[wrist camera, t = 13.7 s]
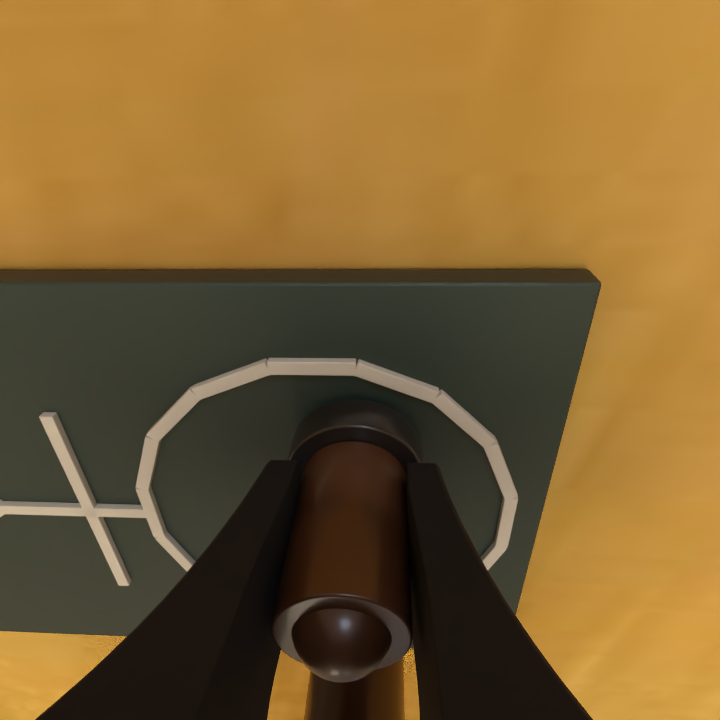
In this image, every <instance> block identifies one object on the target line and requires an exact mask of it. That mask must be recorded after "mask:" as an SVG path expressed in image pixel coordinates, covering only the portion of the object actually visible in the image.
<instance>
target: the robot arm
mask: <svg viewBox="0 0 720 720" xmlns="http://www.w3.org/2000/svg"><path fill="white" fill-rule="evenodd" d="M300 484H301V481H300V472H299V464H298V460H270V461H269V462H268V463H267V464H266V465H265V467H264V468H263V470H262V472H261V473H260V475H259V476H258V478H257V479H256V481H255V482H254V484H253V486H252V487H251V489H250V490H249V491H248V493H247V494H246V496H245V497H244V499H243V500H242V502H241V503H240V504H239V506H238V507H237V509H236V510H235V512H234V513H233V514H232V516H231V517H230V518H229V520H228V521H227V522H226V524H225V525H224V526H223V528H222V529H221V530H220V532H219V533H218V534H217V536H216V537H215V538H214V540H213V541H212V542H211V543H210V545H209V546H208V547H207V548H206V550H205V551H204V552H203V553H202V554H201V556H200V557H199V558H198V559H197V561H196V562H195V563H194V564H193V565H192V567H191V568H190V569H189V570H188V571H187V573H186V574H185V575H184V576H183V577H182V579H181V580H180V581H179V582H178V583H177V584H176V585H175V587H174V588H173V589H172V590H171V591H170V592H169V593H168V594H167V595H166V597H165V598H164V599H163V600H162V601H161V602H160V603H159V604H158V605H157V606H156V607H155V608H154V609H153V611H152V612H151V613H150V614H149V615H148V616H147V617H146V618H145V619H144V620H143V621H142V622H141V623H140V624H139V625H138V626H137V627H136V628H135V629H134V630H133V631H132V632H131V633H130V634H129V635H128V636H127V637H126V638H125V639H124V640H123V641H122V642H121V643H120V644H119V645H118V646H117V647H116V648H115V649H114V650H113V651H112V652H111V653H110V654H109V655H108V656H107V657H106V658H104V659H103V660H102V661H101V662H100V663H99V664H98V665H97V666H96V667H95V668H94V669H93V670H92V671H91V672H89V673H88V674H87V675H86V676H85V677H84V678H83V679H82V680H81V681H79V682H78V683H77V684H76V685H75V686H74V687H73V688H71V689H70V690H69V691H68V692H67V693H66V694H64V695H63V696H62V697H61V698H60V699H59V700H58V701H56V702H55V703H54V704H53V705H52V706H51V707H49V708H48V709H47V710H46V711H45V712H44V713H43V714H41V715H40V716H39V717H38V718H37V719H36V720H267V715H268V709H269V702H270V696H271V691H272V686H273V681H274V676H275V672H276V667H277V663H278V659H279V655H280V651H281V649H280V648H279V646H278V645H277V644H276V642H275V640H274V638H273V636H272V631H271V623H272V617H273V613H274V608H275V603H276V598H277V594H278V589H279V584H280V579H281V575H282V570H283V565H284V560H285V556H286V551H287V546H288V541H289V537H290V532H291V527H292V522H293V518H294V513H295V508H296V503H297V499H298V494H299V489H300ZM406 499H407V524H408V534H409V549H410V573H411V598H412V623H413V645H414V654H415V663H416V672H417V681H418V694H419V707H420V720H593V719H592V718H591V717H590V715H589V714H588V713H587V712H586V710H585V709H584V708H583V707H582V705H581V704H580V703H579V702H578V700H577V699H576V698H575V697H574V695H573V694H572V693H571V692H570V690H569V689H568V688H567V687H566V685H565V684H564V683H563V681H562V680H561V679H560V678H559V676H558V675H557V674H556V672H555V671H554V670H553V668H552V667H551V666H550V664H549V663H548V661H547V660H546V659H545V657H544V656H543V655H542V653H541V652H540V650H539V649H538V648H537V646H536V645H535V644H534V642H533V641H532V639H531V638H530V636H529V635H528V633H527V632H526V630H525V629H524V627H523V626H522V625H521V623H520V622H519V620H518V619H517V617H516V616H515V614H514V613H513V611H512V610H511V608H510V606H509V605H508V603H507V602H506V600H505V598H504V597H503V595H502V594H501V592H500V590H499V589H498V587H497V585H496V584H495V582H494V580H493V579H492V577H491V575H490V574H489V572H488V570H487V569H486V567H485V565H484V563H483V561H482V560H481V558H480V556H479V554H478V552H477V551H476V549H475V547H474V545H473V543H472V541H471V539H470V537H469V535H468V533H467V531H466V530H465V528H464V526H463V524H462V521H461V519H460V517H459V515H458V513H457V511H456V509H455V506H454V504H453V502H452V500H451V497H450V495H449V492H448V490H447V487H446V485H445V482H444V479H443V476H442V473H441V470H440V467H439V466H438V465H436V464H435V463H407V473H406Z"/></svg>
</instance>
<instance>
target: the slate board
mask: <svg viewBox="0 0 720 720" xmlns="http://www.w3.org/2000/svg"><path fill="white" fill-rule="evenodd" d="M600 288H601V282H600V281H599V280H598V279H597V278H596V277H595V276H594V275H593V274H592V273H591V272H590V271H589V270H587V269H564V270H0V631H14V632H38V633H62V634H85V635H109V636H128V635H129V634H130V633H131V632H132V631H133V630H134V629H135V628H136V627H137V626H138V625H139V624H140V623H141V622H142V621H143V620H144V619H145V618H146V617H147V616H148V615H149V614H150V613H151V612H152V611H153V609H154V608H155V607H156V606H157V605H158V604H159V603H160V602H161V601H162V600H163V599H164V598H165V597H166V595H167V594H168V593H169V592H170V591H171V590H172V589H173V588H174V587H175V585H176V584H177V583H178V582H179V581H180V580H181V579H182V577H183V576H184V575H185V574H186V573H187V571H188V570H189V569H190V568H191V567H192V565H193V564H194V563H195V562H196V561H197V559H198V558H199V557H200V556H201V554H202V553H203V552H204V551H205V550H206V548H207V547H208V546H209V545H210V543H211V542H212V541H213V540H214V538H215V537H216V536H217V534H218V533H219V532H220V530H221V529H222V528H223V526H224V525H225V524H226V522H227V521H228V520H229V518H230V517H231V516H232V514H233V513H234V512H235V510H236V509H237V507H238V506H239V504H240V503H241V502H242V500H243V499H244V497H245V496H246V494H247V493H248V491H249V490H250V489H251V487H252V486H253V484H254V482H255V481H256V479H257V478H258V476H259V475H260V473H261V472H262V470H263V468H264V467H265V465H266V464H267V463H268V462H269V461H270V460H288V458H289V454H290V450H291V446H292V442H293V438H294V435H295V432H296V430H297V428H298V426H299V425H300V423H301V422H302V421H303V420H304V419H305V418H306V417H307V416H308V415H309V414H310V413H312V412H313V411H314V410H316V409H318V408H319V407H321V406H324V405H326V404H329V403H332V402H336V401H341V400H351V399H358V400H368V401H373V402H377V403H380V404H383V405H386V406H388V407H390V408H392V409H394V410H396V411H397V412H399V413H400V414H401V415H403V416H404V417H405V418H406V419H407V420H408V421H409V422H410V423H411V424H412V426H413V427H414V428H415V430H416V432H417V433H418V435H419V438H420V441H421V445H422V456H423V463H435V464H436V465H438V466H439V467H440V470H441V473H442V476H443V479H444V482H445V485H446V487H447V490H448V492H449V495H450V497H451V500H452V502H453V504H454V506H455V509H456V511H457V513H458V515H459V517H460V519H461V521H462V524H463V526H464V528H465V530H466V531H467V533H468V535H469V537H470V539H471V541H472V543H473V545H474V547H475V549H476V551H477V552H478V554H479V556H480V558H481V560H482V561H483V563H484V565H485V567H486V569H487V570H488V572H489V574H490V575H491V577H492V579H493V580H494V582H495V584H496V585H497V587H498V589H499V590H500V592H501V594H502V595H503V597H504V598H505V600H506V602H507V603H508V605H509V606H510V608H511V610H512V611H513V613H514V614H515V615H516V611H517V607H518V603H519V599H520V595H521V592H522V588H523V584H524V580H525V576H526V572H527V569H528V565H529V561H530V557H531V553H532V549H533V545H534V542H535V538H536V534H537V530H538V526H539V522H540V519H541V515H542V511H543V507H544V503H545V499H546V495H547V492H548V488H549V484H550V480H551V476H552V472H553V469H554V465H555V461H556V457H557V453H558V449H559V445H560V442H561V438H562V434H563V430H564V426H565V422H566V419H567V415H568V411H569V407H570V403H571V399H572V395H573V392H574V388H575V384H576V380H577V376H578V372H579V369H580V365H581V361H582V357H583V353H584V349H585V345H586V342H587V338H588V334H589V330H590V326H591V322H592V319H593V315H594V311H595V307H596V303H597V299H598V296H599V292H600ZM410 648H414V645H413V640H412V644H411V646H410Z"/></svg>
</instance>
